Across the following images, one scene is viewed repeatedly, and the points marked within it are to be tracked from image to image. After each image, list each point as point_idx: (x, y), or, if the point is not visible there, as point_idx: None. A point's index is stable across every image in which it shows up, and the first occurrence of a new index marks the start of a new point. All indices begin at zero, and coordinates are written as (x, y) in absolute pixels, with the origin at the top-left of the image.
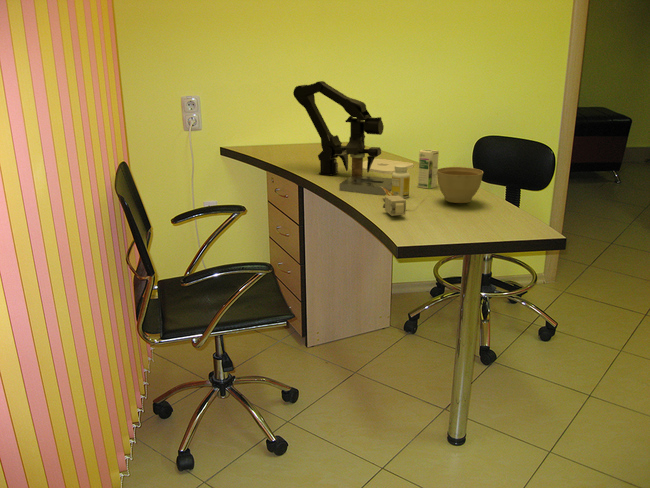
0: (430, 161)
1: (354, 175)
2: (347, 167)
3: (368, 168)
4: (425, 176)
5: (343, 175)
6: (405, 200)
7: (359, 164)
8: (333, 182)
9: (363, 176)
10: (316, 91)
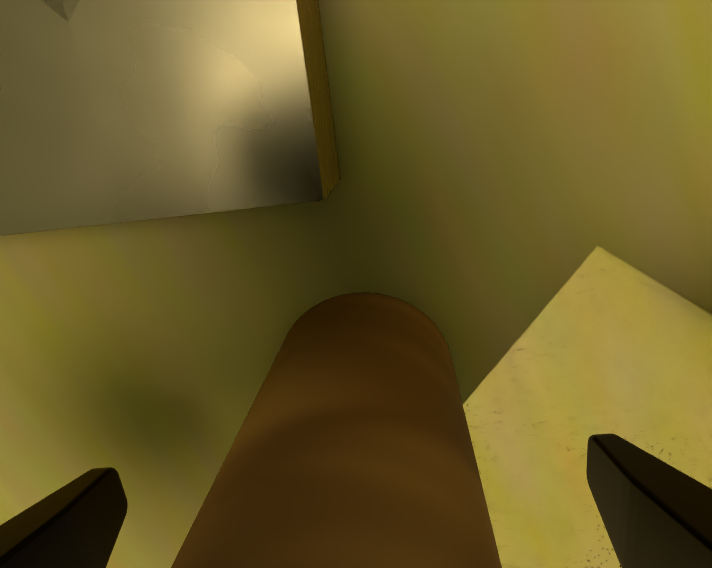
0: None
1: (282, 197)
2: (625, 526)
3: (10, 524)
4: None
5: None
6: None
7: (176, 564)
8: (708, 8)
9: (46, 190)
10: None
